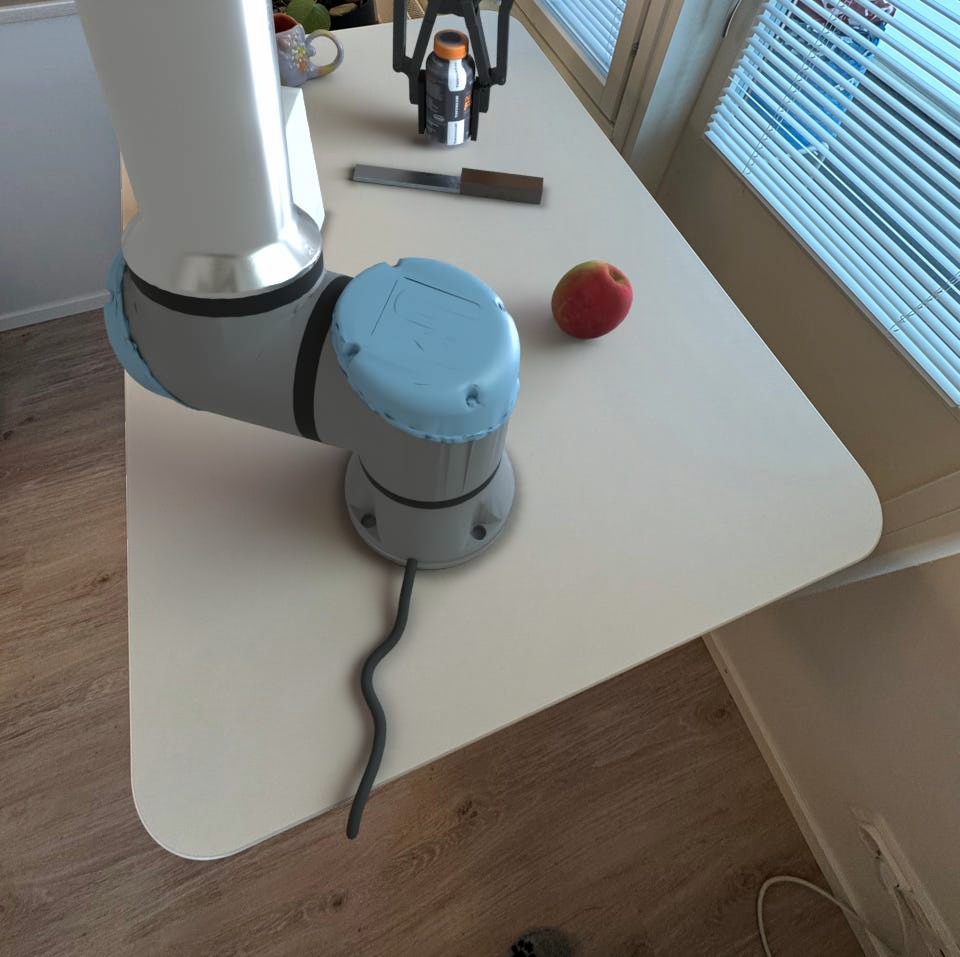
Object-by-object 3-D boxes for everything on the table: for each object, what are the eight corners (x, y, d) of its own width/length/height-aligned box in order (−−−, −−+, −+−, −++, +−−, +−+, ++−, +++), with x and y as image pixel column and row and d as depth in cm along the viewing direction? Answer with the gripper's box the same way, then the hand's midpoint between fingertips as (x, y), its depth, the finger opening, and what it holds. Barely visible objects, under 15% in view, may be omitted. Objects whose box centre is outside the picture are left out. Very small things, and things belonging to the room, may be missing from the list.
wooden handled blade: (541, 190, 79) (543, 177, 77) (540, 204, 78) (542, 191, 76) (357, 167, 78) (355, 154, 77) (353, 181, 77) (351, 168, 75)
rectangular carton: (327, 214, 74) (305, 85, 61) (310, 270, 70) (282, 144, 57) (250, 204, 74) (210, 72, 61) (228, 259, 70) (181, 131, 56)
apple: (613, 362, 67) (635, 309, 60) (539, 343, 67) (552, 288, 60) (624, 310, 70) (646, 254, 63) (554, 292, 71) (568, 235, 64)
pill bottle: (471, 148, 80) (477, 54, 70) (424, 145, 80) (423, 50, 70) (471, 119, 83) (477, 24, 73) (426, 116, 82) (425, 20, 72)
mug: (253, 90, 84) (239, 36, 78) (259, 60, 87) (247, 6, 81) (345, 95, 85) (338, 42, 79) (348, 65, 88) (342, 12, 82)
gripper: (554, -102, 63) (523, 122, 83) (363, -128, 62) (379, 104, 83) (551, -66, 59) (520, 158, 80) (349, -93, 59) (370, 140, 79)
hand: (448, 130), depth 81 cm, fingers closed on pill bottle, 6 cm apart
